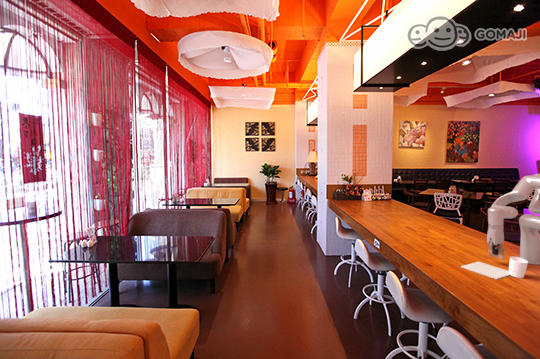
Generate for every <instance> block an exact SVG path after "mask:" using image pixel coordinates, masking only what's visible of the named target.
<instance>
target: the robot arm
mask: <svg viewBox="0 0 540 359" xmlns="http://www.w3.org/2000/svg"><path fill="white" fill-rule="evenodd" d="M533 191H534V195H533V197H532V199H531V201H530V203H529V205H528V211H529V212H530V213H531V214H530V213H529V214H528V213H527V214H526V213H525V214H522V215H521V216H520V217H519V218H518V220H519V221H518V223H519V227H520V239H519V240H520V243H519V244H520V245H519V246H520V247H519V249H520V250H519V256H517V257H519V258H522V259H525V260H527V261H528V265H539V266H540V173H535V174H533V175H532V174H531V175H524V176H523V177H522V178H521V179H520V180H519V181H518V182H517V183H516V185H515V186H514V188H513V189H512V191H510V192H507V193H505V194H504V195H500V197H498V198H497V199H495V201H494V202H493V203H492V204H491V206H490V207H489V208H488V209H487V222H488V227H487V228H488V229H487V234H486V242H487V244H490V245H489V246H491V247H492V254H495V255H498V249H497V245H498V246H502V244H503V243H504V241H505V234H504V232H505V231H504V219H515V218H517V216H518V214H519V211H518V210H517V209H516V208H515V207H513V206H509V205H508V204H511V203H516V202H521V201H525V200H527V199H528V198H529V196H530V195H531V194H532V193H533ZM507 205H508V206H507Z"/></svg>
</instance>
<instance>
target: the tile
mask: <svg viewBox="0 0 540 359" xmlns="http://www.w3.org/2000/svg"><path fill="white" fill-rule="evenodd" d="M487 245H488V248H487V249H488V256H489V257H491V258H495V259H498V260H502V261H503V260H505V259H506V258H505V257H506V256H505V246H502V245H501V246H498V245H497V249H498V255H495V254H492V247H491V246H489V245H490V243H487Z"/></svg>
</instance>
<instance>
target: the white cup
mask: <svg viewBox="0 0 540 359" xmlns="http://www.w3.org/2000/svg"><path fill="white" fill-rule="evenodd" d="M528 265H529V264H528V261H527V260H525V259H522V258H519V257H518V256H509V263H508V271H509V274H510V275H509V276H511V277H514V278H518V279H523V278H524V277H525V274H526V271H527V267H528Z"/></svg>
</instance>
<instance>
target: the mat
mask: <svg viewBox="0 0 540 359" xmlns="http://www.w3.org/2000/svg"><path fill="white" fill-rule="evenodd" d="M460 268H463V269H466V270H468V271H471V272H473V273H476V274H479V275H481V276H485V277H488V278H491V279H493V278H494V279H493V280H495V281H496V280H500V279H503V278H507V277H509V276H511V275H510V274H509V270H507V269H503V268H501V267H497V266H494V265H491V264H488V263H484V262H481V261H476V262H471V263H469V264H464V265H461V266H460Z"/></svg>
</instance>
